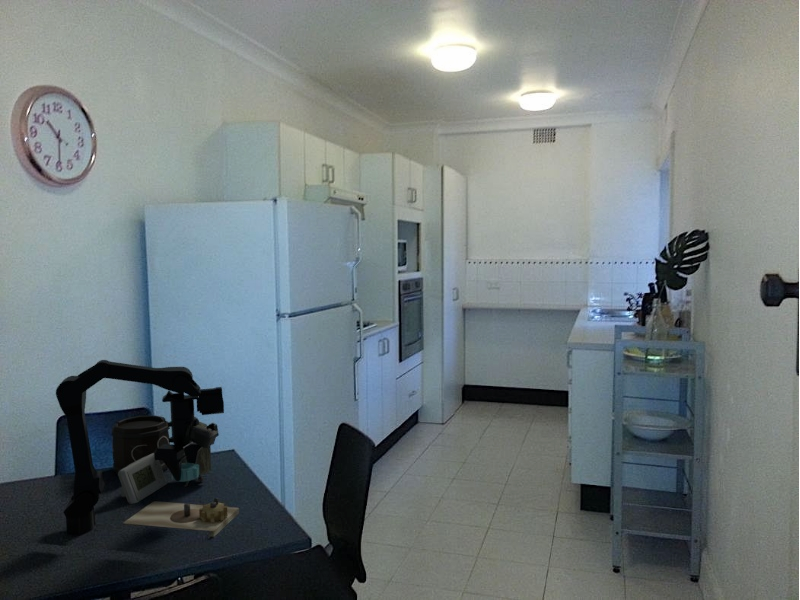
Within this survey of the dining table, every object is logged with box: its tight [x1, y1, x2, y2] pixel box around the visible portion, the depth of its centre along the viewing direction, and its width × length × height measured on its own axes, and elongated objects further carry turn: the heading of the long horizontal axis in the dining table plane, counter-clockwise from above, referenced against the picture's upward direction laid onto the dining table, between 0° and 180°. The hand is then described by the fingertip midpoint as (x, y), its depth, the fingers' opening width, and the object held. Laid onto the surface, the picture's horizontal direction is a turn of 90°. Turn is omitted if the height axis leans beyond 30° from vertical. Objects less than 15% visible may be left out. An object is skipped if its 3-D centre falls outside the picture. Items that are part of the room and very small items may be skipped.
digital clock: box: [117, 453, 168, 505], centre depth 182 cm, size 16×9×11 cm, turn 155°
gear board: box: [122, 497, 240, 538], centre depth 166 cm, size 14×25×6 cm, turn 79°
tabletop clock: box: [182, 416, 212, 487], centre depth 192 cm, size 14×9×25 cm, turn 23°
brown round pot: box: [110, 415, 171, 477], centre depth 204 cm, size 18×18×16 cm
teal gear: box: [170, 463, 199, 483], centre depth 165 cm, size 7×7×3 cm
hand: (185, 475), depth 165 cm, fingers closed on teal gear, 7 cm apart
